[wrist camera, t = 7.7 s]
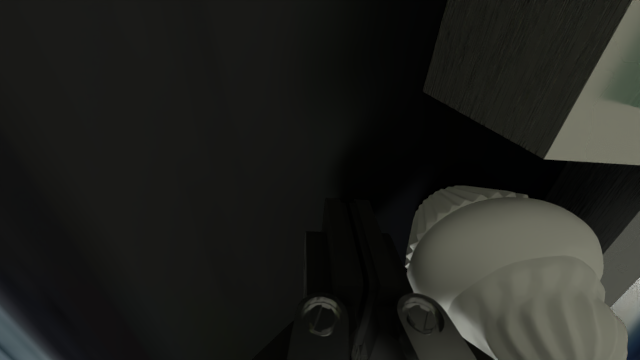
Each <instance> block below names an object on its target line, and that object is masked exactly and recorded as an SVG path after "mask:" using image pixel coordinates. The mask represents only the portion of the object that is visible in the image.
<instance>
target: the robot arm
mask: <svg viewBox="0 0 640 360" xmlns="http://www.w3.org/2000/svg"><path fill="white" fill-rule="evenodd" d="M353 344H354V345H358V346H359V351H360V356H368V360H495V359H493V358H492V357H490V356H489V355H488V354H486V353H485V352H483V351H482V350H480V349H479V348H477V347H476V346H474V345H473V344H472V343H470V342H469V341H467V340H466V339H464V338H463V337H462V336H461V334H460V333H459V331H458V330H457V328H456V327H455V325H454V323H453V322H452V320H451V319H450V317H449V316H448V314H447V313H446V311H445V310H444V309H443V308H442V306H441V305H440V304H439V303H437V302H436V301H435V300H434V299H432V298H430V297H428V296H426V295H423V294H419V293H414V292H413V289H412V287H411V285H410V282H409V280H408V277H407V275H406V272H405V270H404V267H403V265H402V263H401V260H400V258H399V255H398V253H397V250H396V248H395V246H394V243H393V241H392V238H391V236H390V235H389V234H381V231H380V229H379V226H378V223H377V220H376V218H375V215H374V212H373V210H372V207H371V204H370V202H369V200H359V199H354V201H353V203H349V204H348V208H347V207H346V203H342V202H341V200H340V199H333V198H326V199H325V206H324V215H323V224H322V232H305V243H304V298H303V299H302V301H301V302H300V303H299V304H298V307H297V309H296V313H295V318H294V321H293V322H292V323H290V324H289V325H288V326H287V327H286V328H285V329H284V330H283V331H282V332H281V333H280V334H279V335H277V336H276V337H275V338H274V339H273V340H272V341H271V342H270V343H269V344H268V345H267V346H266V347H265V348H263V349H262V350H261V351H260V352H259V353H258V354H257V355H256V356H255V357H254V358H253V359H252V360H349V358H350V354H351V350H352V346H353Z"/></svg>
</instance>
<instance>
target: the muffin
mask: <svg viewBox="0 0 640 360" xmlns="http://www.w3.org/2000/svg"><path fill="white" fill-rule="evenodd" d="M405 267H406V268H408V269H407V277H408V280H409V282H410V285H411V287H412V289H413V292H414V293H419V294H423V295H426V296H428V297H430V298H432V299H434V300H435V301H436V302H437V303H439V304H440V305H441V306H442V308H443V309H444V310H445V311H446V313H447V314H448V316H449V317H450V319H451V320H452V322H453V323H454V325H455V327H456V328H457V330H458V331H459V333H460V334H461V336H462V337H463V338H464V339H466V340H467V341H469V342H470V343H472V344H473V345H474V346H476V347H477V348H479V349H480V350H482V351H483V352H485V353H486V354H488V355H489V356H490V357H492V358H493V359H495V360H626V359H627V354H628V352H627V343H628V335H627V330H626V327H625V325H624V323H623V322H622V321H621V320H620V319H619V318H618V317H617V316H615V315H614V313H613V311H612V310H611V308H610V307H609V306H608V305H607V304H605V303H604V300H605V289H604V287H603V285H602V283H601V282H600V280H601V277H602V274H603V267H604V264H603V254H602V249H601V246H600V243H599V240H598V238H597V236H596V235H595V233H594V232H593V230H592V229H591V228H590V227H589V226H588V225H587V224H586V223H585V222H584V221H583V220H581V219H580V218H579V217H577V216H576V215H574V214H573V213H571V212H570V211H568V210H566V209H564V208H562V207H560V206H557V205H555V204H552V203H549V202H546V201H542V200H538V199H532V198H528V195H525V194H520V193H514V192H511V191H503V190H496V189H488V188H480V187H472V186H464V185H463V186H457V185H455V186H454V187H449V186H448V187H447V188H446V189H440V190H439V191H435V193H434V194H433V195H429V197H428V199H426V200H423V204H421V205H419V209H418V210H417V211H416V212H415V216H414V218H413V223H412V228H411V233H410V237H409V242H408V247H407V252H406V262H405Z"/></svg>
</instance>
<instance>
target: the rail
mask: <svg viewBox="0 0 640 360" xmlns="http://www.w3.org/2000/svg"><path fill="white" fill-rule="evenodd" d="M423 92H425V93H426V94H428V95H430V96H432V97H434V98H435V99H437V100H439V101H441V102H442V103H444V104H446V105H448V106H450V107H451V108H453V109H455V110H457V111H459V112H460V113H462V114H464V115H466V116H468V117H469V118H471V119H473V120H475V121H476V122H478V123H480V124H482V125H484V126H485V127H487V128H489V129H491V130H493V131H494V132H496V133H498V134H500V135H502V136H503V137H505V138H507V139H509V140H510V141H512V142H514V143H516V144H518V145H519V146H521V147H523V148H525V149H527V150H528V151H530V152H532V153H534V154H536V155H537V156H539V157H541V158H543V159H549V160H565V161H567V163H566V165H565V166H564V168H563V170H562V171H561V173H560V175H559V176H558V178H557V180H556V181H555V183H554V184H553V186H552V188H551V189H550V191H549V193H548V194H547V196H546V198H545V199H544V201H546V202H549V203H552V204H555V205H557V206H560V207H562V208H564V209H566V210H568V211H570V212H571V213H573V214H574V215H576V216H577V217H579V218H580V219H581V220H583V221H584V222H585V223H586V224H587V225H588V226H589V227H590V228H591V229H592V230H593V232H594V233H595V235H596V236H597V238H598V240H599V243H600V246H601V249H602V254H603V264H604V267H603V274H602V277H601V280H600V282H601V283H602V285H603V287H604V289H605V300H604V303H605V304H607V305H608V306H609V307H611V306H612V305H613V304H614V303H615V302H616V301H617V300H618V299H619V298H620V297H621V296H622V295H623V294H624V293H625V292H626V291H627V290H628V289H629V288H630V287H631V286H632V284H633V283H634V282H635V281H636V280H637V279H638V278H639V277H640V0H447V4H446V7H445V11H444V15H443V18H442V22H441V26H440V29H439V33H438V37H437V40H436V44H435V48H434V51H433V55H432V59H431V62H430V66H429V70H428V73H427V77H426V81H425V84H424V88H423ZM351 357H352V360H368V356H360V351H359V346H358V345H353V349H352V353H351Z"/></svg>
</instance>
